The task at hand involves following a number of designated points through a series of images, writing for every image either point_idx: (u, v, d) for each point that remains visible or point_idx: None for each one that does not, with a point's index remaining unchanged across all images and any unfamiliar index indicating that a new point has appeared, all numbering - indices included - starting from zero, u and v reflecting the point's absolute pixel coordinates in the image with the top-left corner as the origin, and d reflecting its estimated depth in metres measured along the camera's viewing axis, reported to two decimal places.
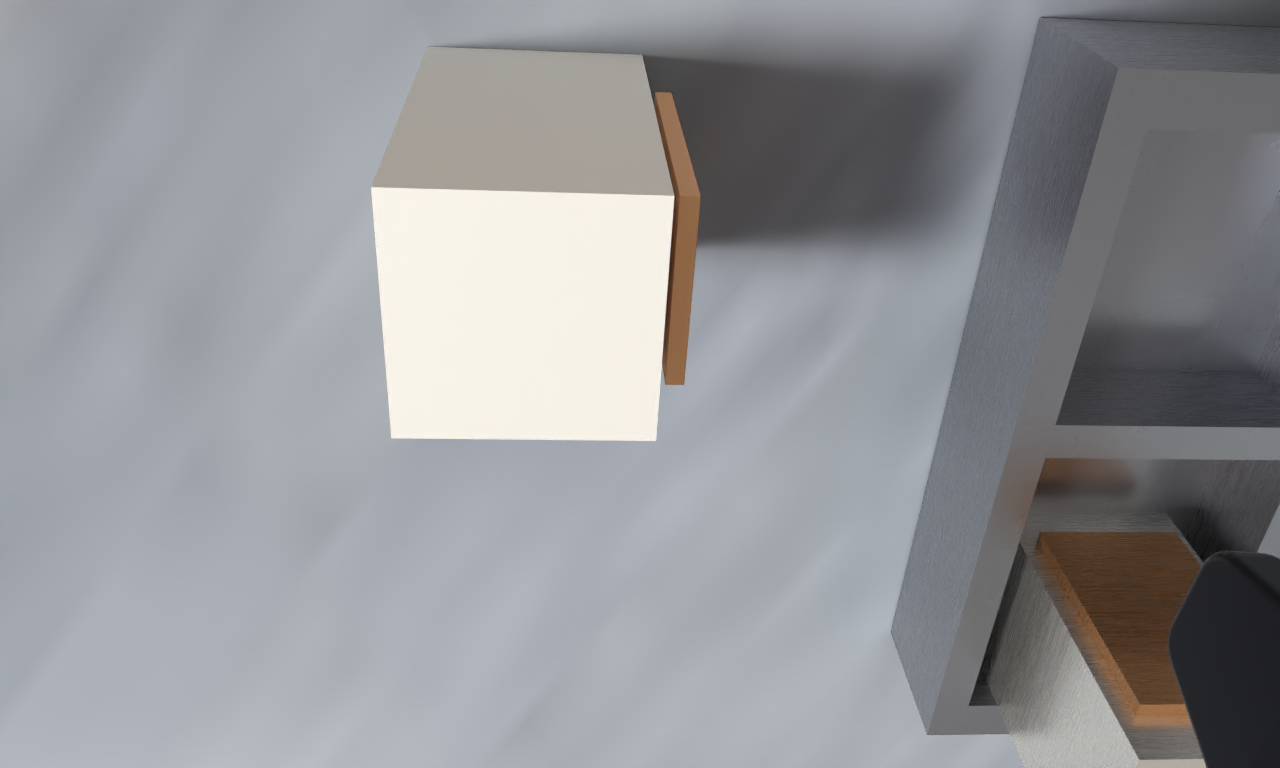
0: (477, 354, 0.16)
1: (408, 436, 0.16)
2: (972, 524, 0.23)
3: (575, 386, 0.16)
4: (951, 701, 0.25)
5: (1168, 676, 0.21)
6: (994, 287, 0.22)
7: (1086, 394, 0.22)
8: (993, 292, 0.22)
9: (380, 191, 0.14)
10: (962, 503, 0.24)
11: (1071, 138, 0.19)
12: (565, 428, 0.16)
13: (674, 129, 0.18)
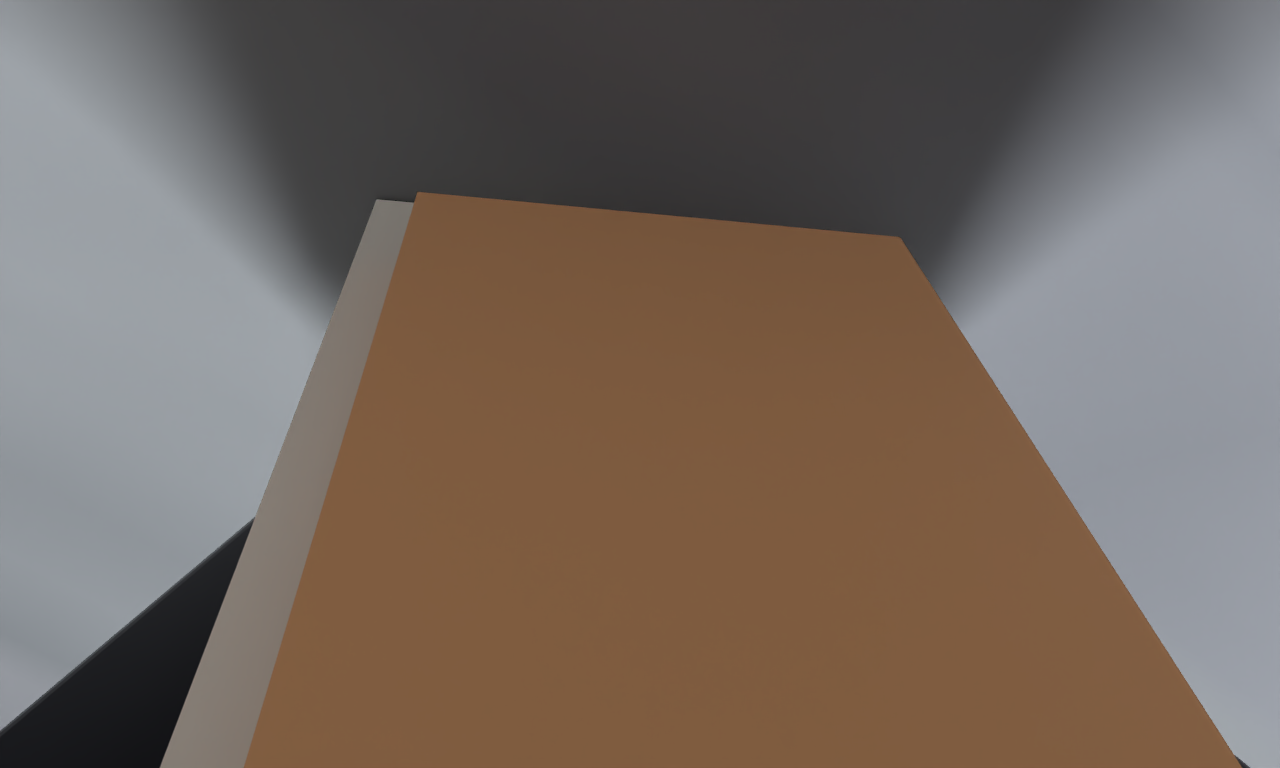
0: None
1: None
2: None
3: None
4: None
5: None
6: None
7: None
8: None
9: None
10: None
11: None
12: None
13: (367, 377, 0.05)
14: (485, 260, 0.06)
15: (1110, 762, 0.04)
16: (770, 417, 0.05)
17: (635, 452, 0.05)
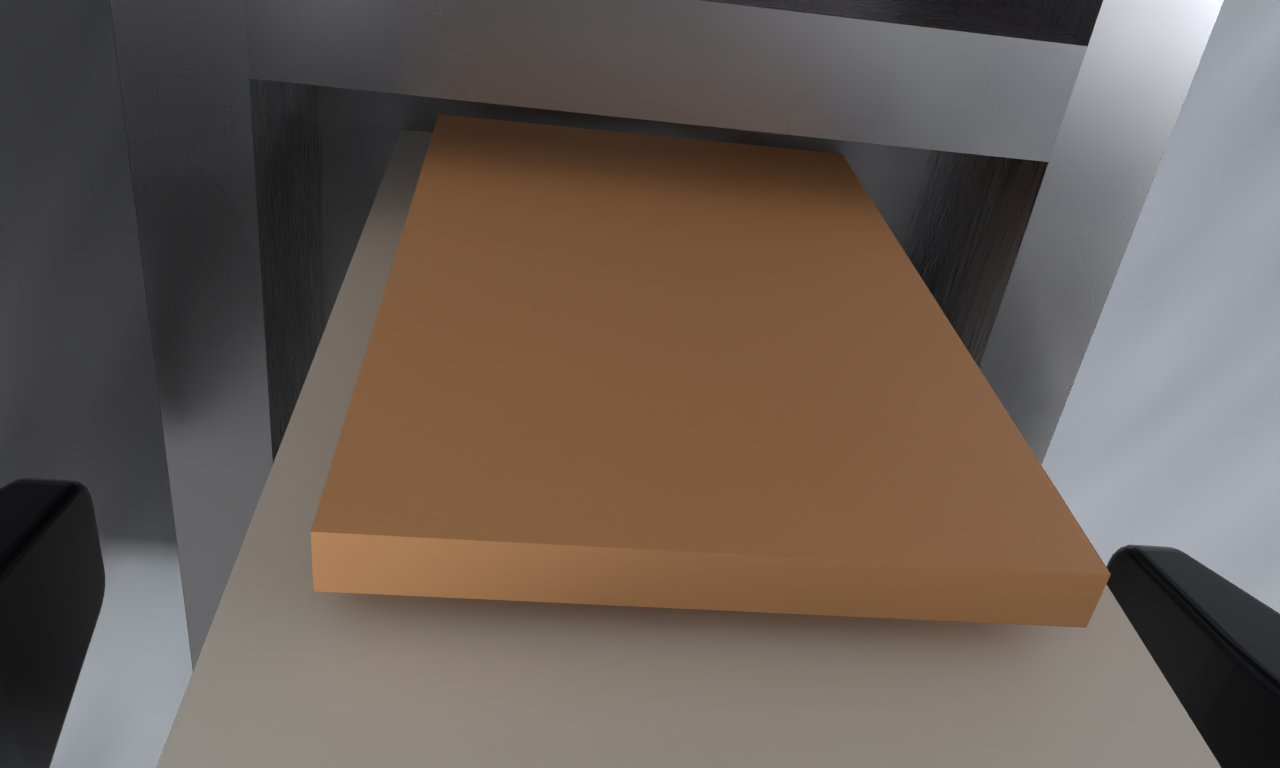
0: None
1: None
2: None
3: None
4: None
5: None
6: None
7: None
8: None
9: None
10: None
11: None
12: None
13: (406, 240, 0.07)
14: (495, 162, 0.08)
15: (951, 470, 0.05)
16: (721, 268, 0.07)
17: (615, 285, 0.06)
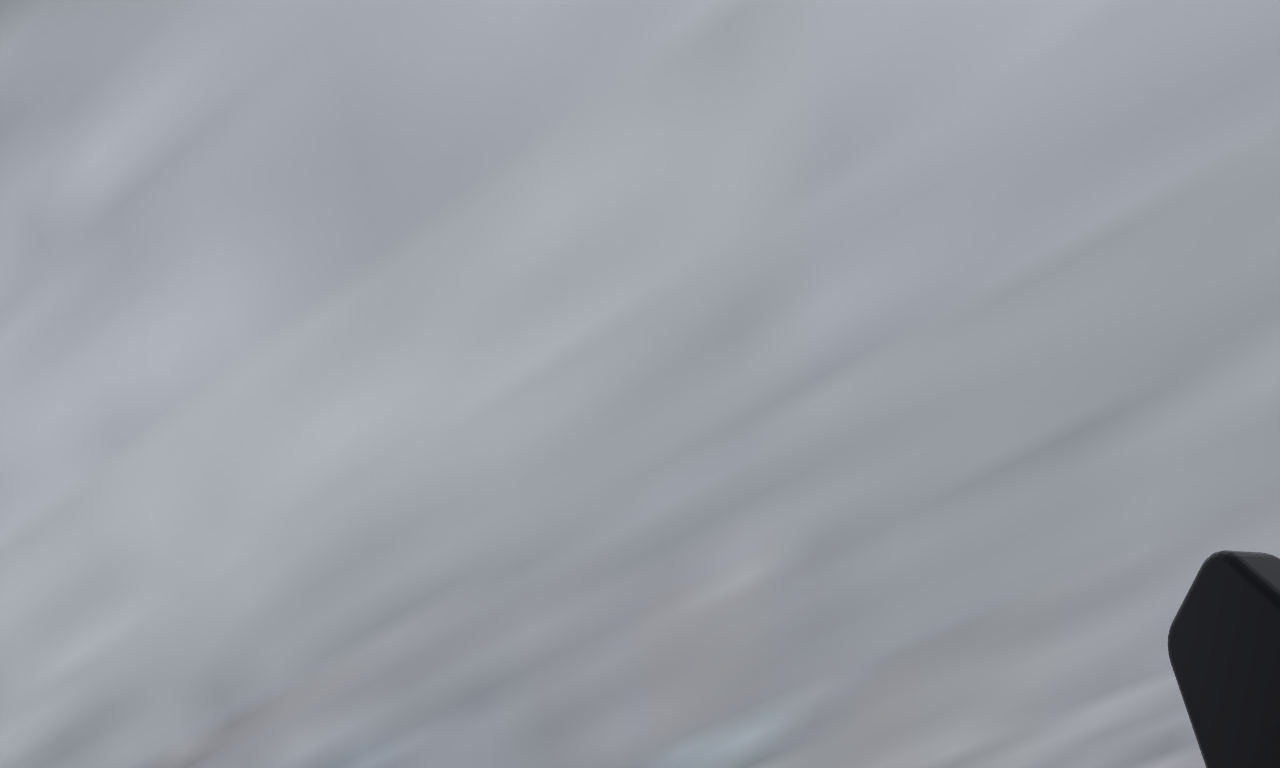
0: None
1: None
2: None
3: None
4: None
5: None
6: None
7: None
8: None
9: None
10: None
11: None
12: None
13: None
14: None
15: None
16: None
17: None
